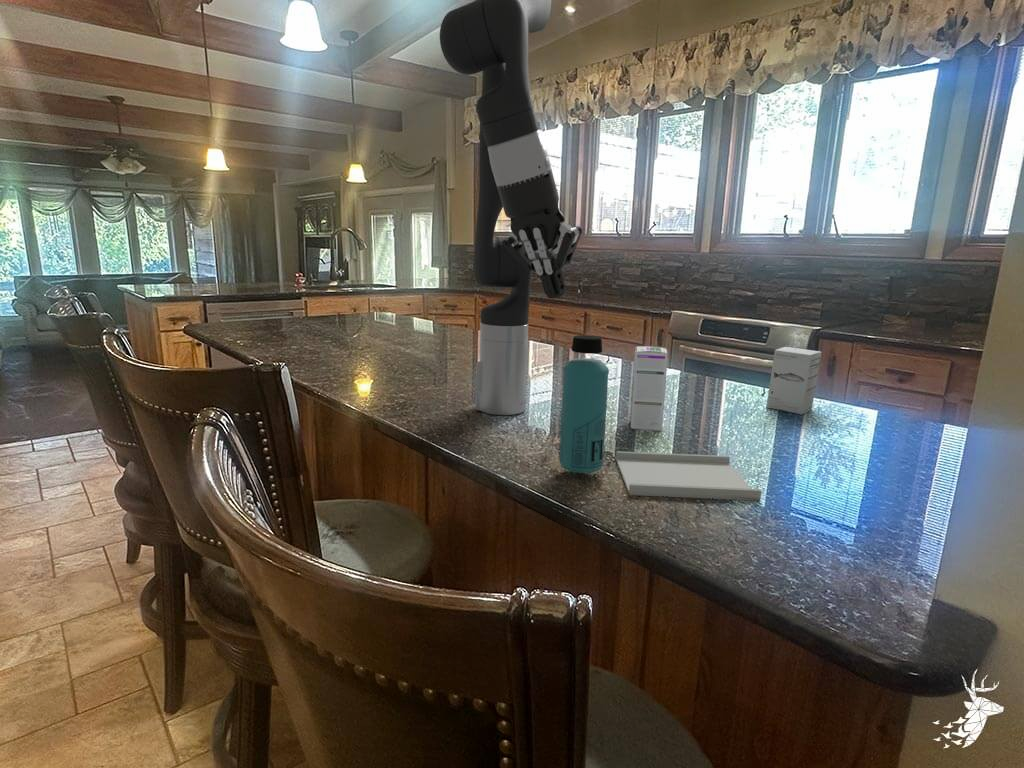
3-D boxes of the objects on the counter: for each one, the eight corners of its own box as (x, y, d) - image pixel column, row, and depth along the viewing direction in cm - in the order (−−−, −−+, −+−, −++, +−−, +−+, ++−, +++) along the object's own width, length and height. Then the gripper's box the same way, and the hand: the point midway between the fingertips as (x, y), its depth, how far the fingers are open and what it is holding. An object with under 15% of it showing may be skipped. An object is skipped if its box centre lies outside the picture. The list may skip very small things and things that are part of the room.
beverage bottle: (591, 487, 77) (601, 341, 72) (548, 476, 80) (555, 335, 76) (610, 472, 82) (620, 335, 78) (569, 462, 86) (576, 330, 81)
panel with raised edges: (629, 495, 75) (630, 485, 75) (615, 459, 88) (616, 451, 87) (760, 500, 74) (761, 490, 74) (727, 464, 87) (728, 455, 87)
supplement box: (765, 408, 121) (773, 349, 118) (777, 402, 126) (785, 345, 123) (802, 415, 116) (811, 354, 113) (813, 409, 121) (822, 350, 118)
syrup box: (662, 431, 102) (670, 352, 99) (629, 429, 103) (635, 350, 100) (661, 423, 108) (668, 347, 104) (629, 420, 109) (635, 345, 106)
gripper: (469, 190, 77) (507, 308, 84) (545, 173, 68) (580, 306, 75) (504, 175, 82) (536, 288, 89) (579, 157, 73) (609, 284, 80)
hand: (556, 296), depth 82 cm, fingers closed
